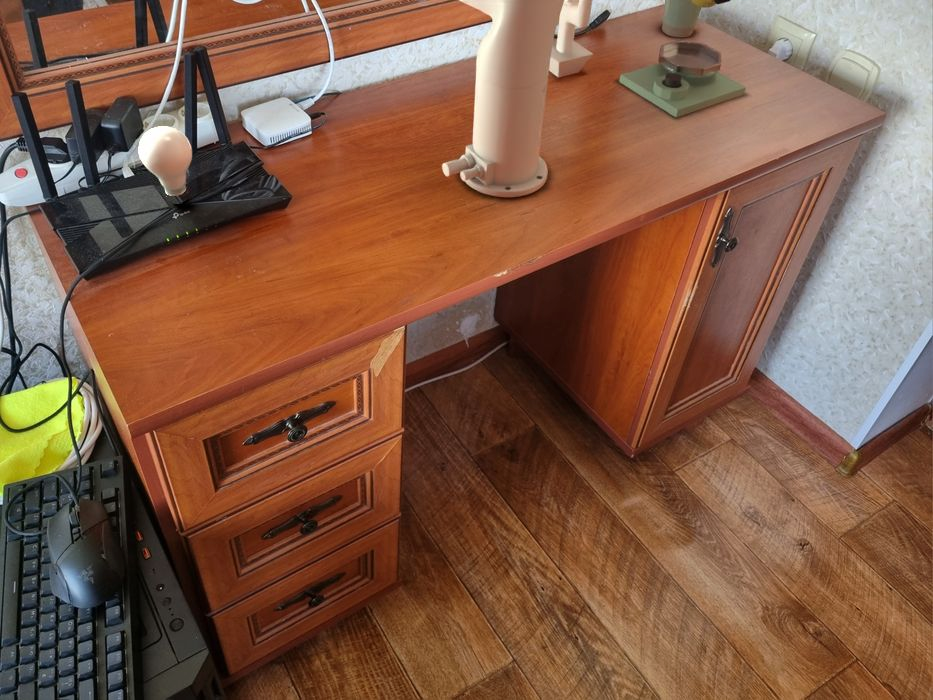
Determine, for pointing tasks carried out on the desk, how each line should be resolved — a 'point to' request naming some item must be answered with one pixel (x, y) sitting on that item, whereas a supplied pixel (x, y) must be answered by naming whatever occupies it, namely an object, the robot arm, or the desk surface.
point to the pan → (689, 59)
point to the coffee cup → (680, 17)
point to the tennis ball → (704, 3)
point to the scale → (681, 89)
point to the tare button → (672, 80)
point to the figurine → (570, 39)
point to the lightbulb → (167, 157)
